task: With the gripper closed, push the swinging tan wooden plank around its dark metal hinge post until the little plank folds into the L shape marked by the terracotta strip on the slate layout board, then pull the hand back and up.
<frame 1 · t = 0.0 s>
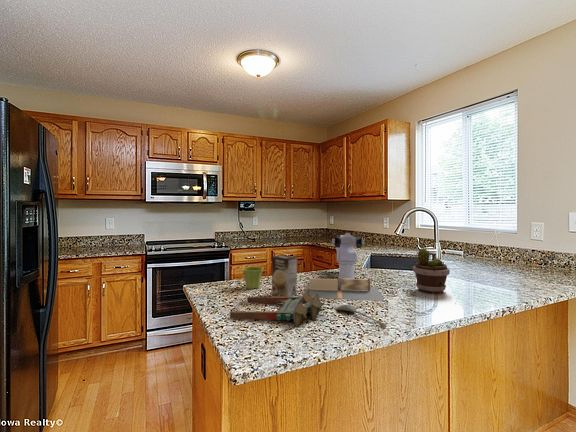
hand: (348, 241, 138), 22 cm above the worktop, tool horizontal, fingers open, 7 cm apart
coffee box: (284, 295, 133), on the worktop
plant pot: (252, 287, 145), on the worktop
tan wooden plank: (355, 284, 138), point 4 cm above the worktop, hinge at 0.0°
miniature gate: (280, 313, 111), on the worktop
flowerpot: (430, 291, 140), on the worktop
layout board: (341, 293, 135), on the worktop
soupspoon: (359, 318, 106), on the worktop
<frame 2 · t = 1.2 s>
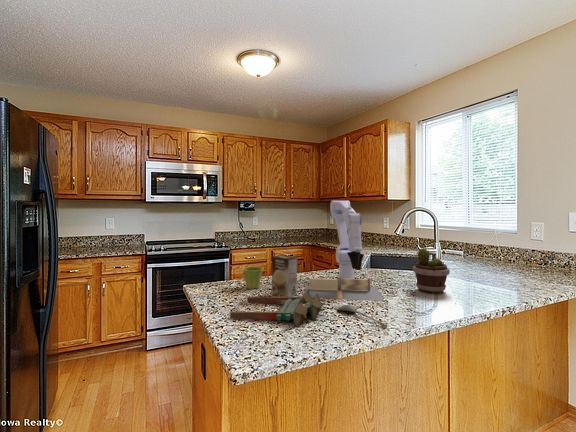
hand: (356, 269, 141), 9 cm above the worktop, tool pointing down, fingers open, 7 cm apart
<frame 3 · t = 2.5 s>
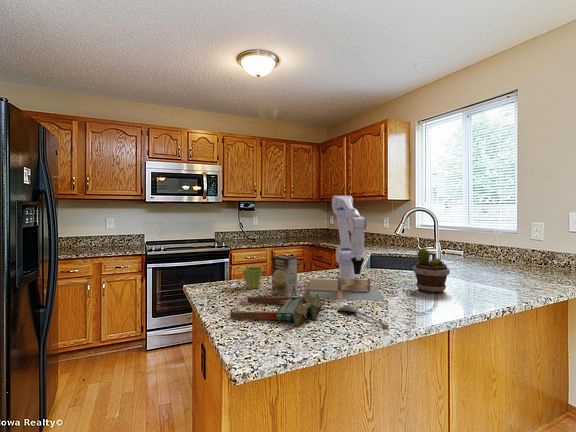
hand: (357, 273, 143), 7 cm above the worktop, tool pointing down, fingers closed
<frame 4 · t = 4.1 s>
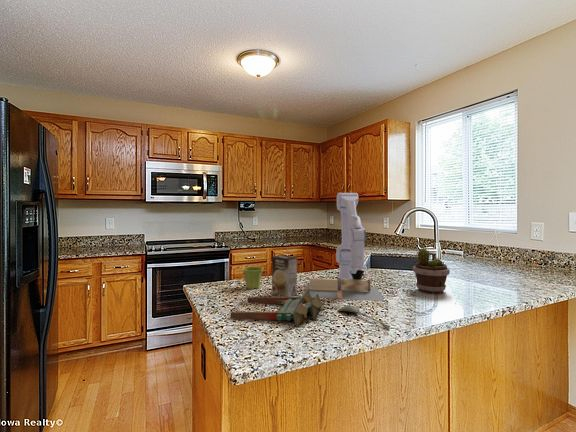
hand: (357, 287, 138), 2 cm above the worktop, tool pointing down, fingers closed
tan wooden plank: (355, 284, 137), point 4 cm above the worktop, hinge at 7.0°, touching gripper
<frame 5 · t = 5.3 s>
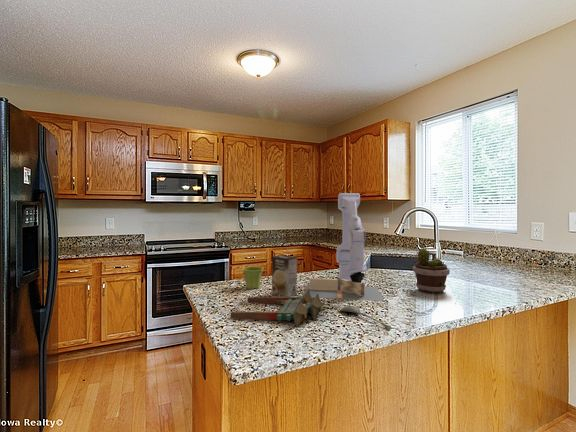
hand: (356, 290, 134), 2 cm above the worktop, tool pointing down, fingers closed
tan wooden plank: (352, 286, 133), point 4 cm above the worktop, hinge at 42.9°, touching gripper
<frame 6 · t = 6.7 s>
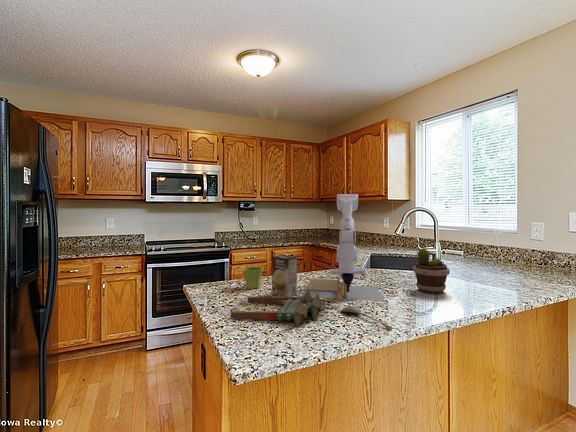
hand: (347, 291, 131), 2 cm above the worktop, tool pointing down, fingers closed
tan wooden plank: (342, 287, 131), point 4 cm above the worktop, hinge at 80.7°, touching gripper
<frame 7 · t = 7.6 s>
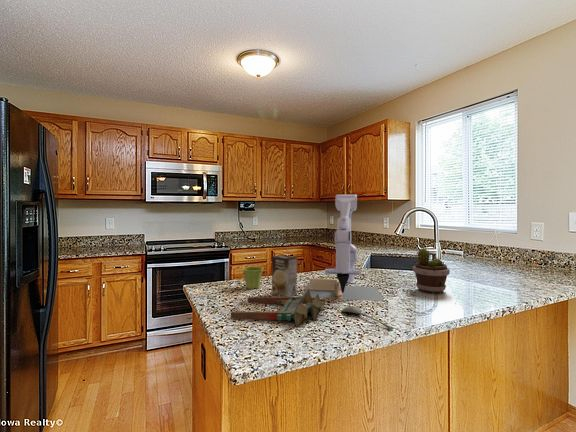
hand: (342, 291, 131), 2 cm above the worktop, tool pointing down, fingers closed
tan wooden plank: (337, 287, 132), point 4 cm above the worktop, hinge at 97.3°, touching gripper
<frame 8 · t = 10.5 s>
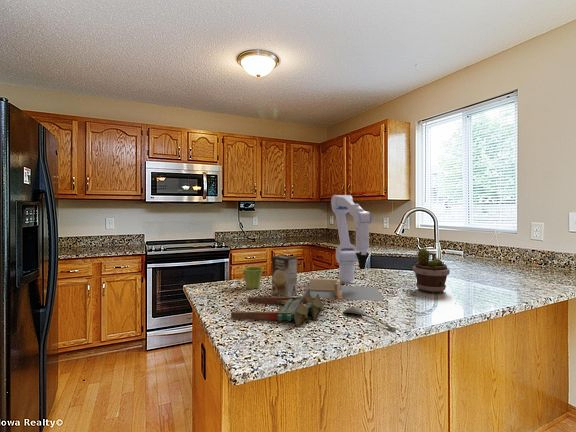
hand: (362, 268, 141), 9 cm above the worktop, tool pointing down, fingers closed
tan wooden plank: (337, 287, 132), point 4 cm above the worktop, hinge at 97.4°
at the end: tan wooden plank at +97° (first picture: +0°) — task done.
